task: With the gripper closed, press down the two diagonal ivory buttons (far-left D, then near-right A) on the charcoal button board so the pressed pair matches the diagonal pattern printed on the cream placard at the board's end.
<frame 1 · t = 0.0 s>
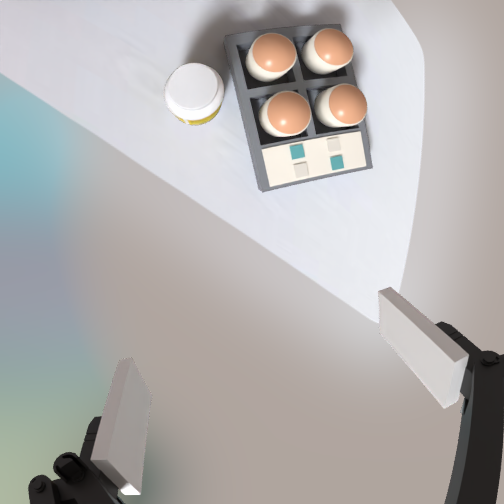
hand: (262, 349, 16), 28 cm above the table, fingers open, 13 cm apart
button D: (340, 106, 34), point 5 cm above the table, slide at 0.0 cm
button A: (270, 57, 31), point 5 cm above the table, slide at 0.0 cm
button B: (326, 51, 32), point 5 cm above the table, slide at 0.0 cm
button C: (284, 114, 34), point 5 cm above the table, slide at 0.0 cm
pill bottle: (196, 102, 37), on the table
board: (297, 103, 38), on the table
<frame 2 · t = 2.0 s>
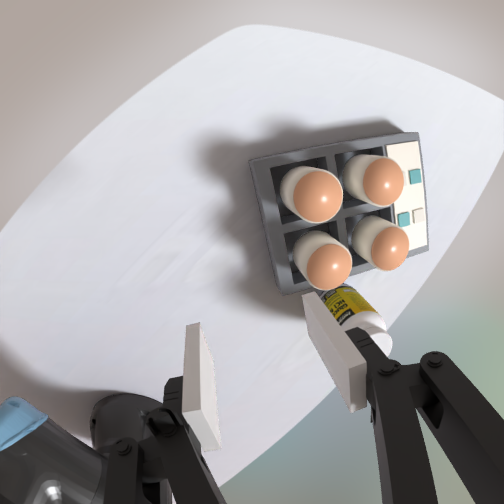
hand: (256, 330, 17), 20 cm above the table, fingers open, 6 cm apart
button D: (373, 179, 31), point 5 cm above the table, slide at 0.0 cm
button A: (321, 259, 33), point 5 cm above the table, slide at 0.0 cm
button B: (310, 193, 31), point 5 cm above the table, slide at 0.0 cm
button C: (380, 242, 33), point 5 cm above the table, slide at 0.0 cm
pill bottle: (335, 303, 41), on the table
board: (345, 205, 37), on the table
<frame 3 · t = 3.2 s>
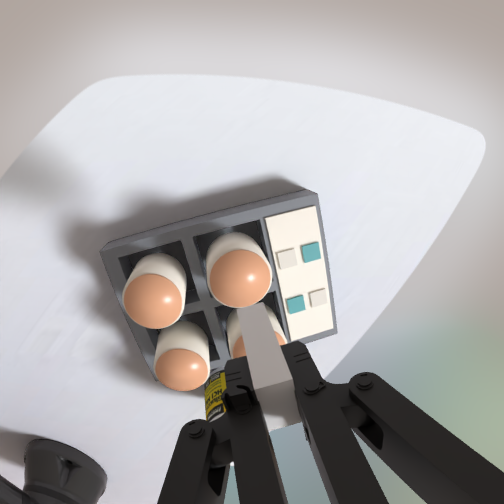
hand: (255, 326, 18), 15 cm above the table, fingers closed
button D: (237, 268, 27), point 5 cm above the table, slide at 0.0 cm
button A: (182, 356, 29), point 5 cm above the table, slide at 0.0 cm
button B: (156, 290, 26), point 5 cm above the table, slide at 0.0 cm
button C: (255, 337, 29), point 5 cm above the table, slide at 0.0 cm
pill bottle: (229, 382, 37), on the table
board: (225, 285, 33), on the table
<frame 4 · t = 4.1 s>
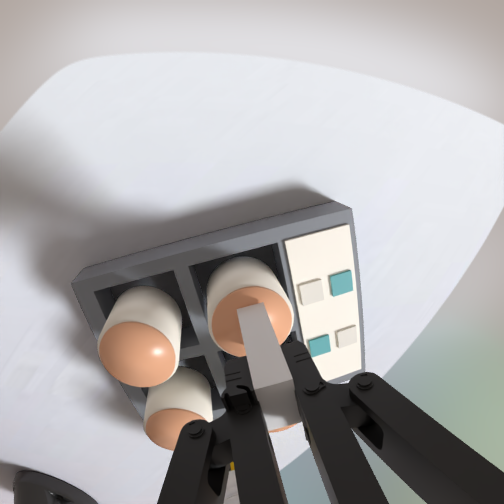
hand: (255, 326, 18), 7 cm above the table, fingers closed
button D: (246, 306, 20), point 5 cm above the table, slide at 0.6 cm, touching gripper
button A: (178, 409, 22), point 5 cm above the table, slide at 0.0 cm
button B: (142, 336, 19), point 5 cm above the table, slide at 0.0 cm
button C: (269, 389, 22), point 5 cm above the table, slide at 0.0 cm
pill bottle: (235, 424, 30), on the table
board: (231, 321, 26), on the table
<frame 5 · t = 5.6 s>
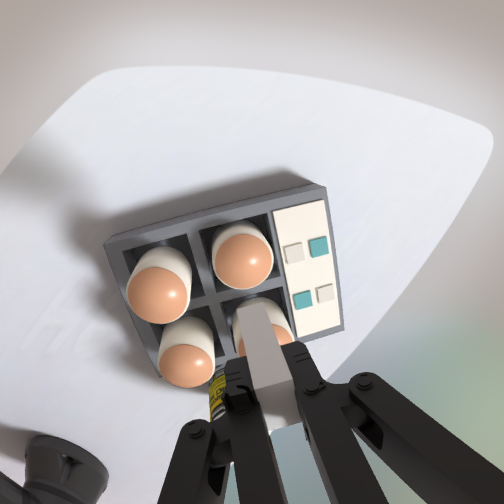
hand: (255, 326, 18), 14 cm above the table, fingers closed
button D: (240, 253, 28), point 3 cm above the table, slide at 2.5 cm
button A: (186, 351, 28), point 5 cm above the table, slide at 0.0 cm
button B: (160, 284, 26), point 5 cm above the table, slide at 0.0 cm
button C: (261, 333, 29), point 5 cm above the table, slide at 0.0 cm
pill bottle: (234, 378, 36), on the table
board: (231, 280, 32), on the table
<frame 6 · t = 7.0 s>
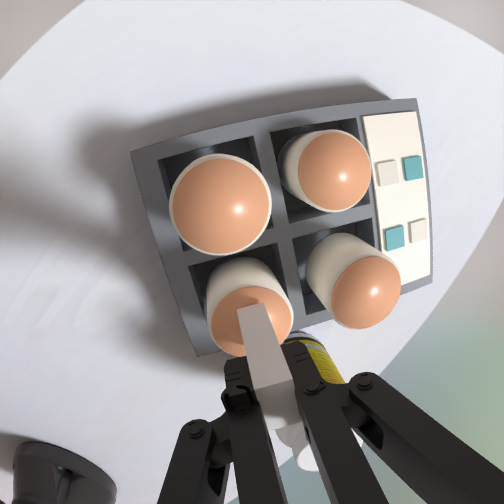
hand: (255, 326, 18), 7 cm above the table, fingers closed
button D: (322, 168, 20), point 3 cm above the table, slide at 2.5 cm
button A: (246, 306, 20), point 5 cm above the table, slide at 0.6 cm, touching gripper
button B: (218, 199, 18), point 5 cm above the table, slide at 0.0 cm
button C: (352, 279, 20), point 5 cm above the table, slide at 0.0 cm
pill bottle: (290, 358, 28), on the table
board: (299, 216, 24), on the table
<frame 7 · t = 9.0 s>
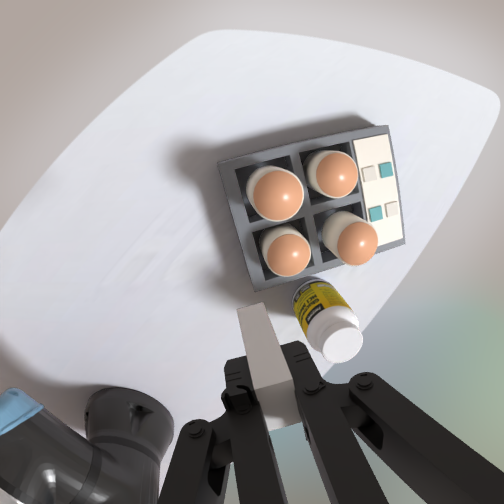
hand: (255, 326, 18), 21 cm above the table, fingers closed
button D: (329, 172, 34), point 3 cm above the table, slide at 2.5 cm
button A: (284, 248, 36), point 3 cm above the table, slide at 2.5 cm
button B: (273, 192, 32), point 5 cm above the table, slide at 0.0 cm
button C: (349, 237, 34), point 5 cm above the table, slide at 0.0 cm
pill bottle: (312, 298, 42), on the table
board: (316, 201, 38), on the table
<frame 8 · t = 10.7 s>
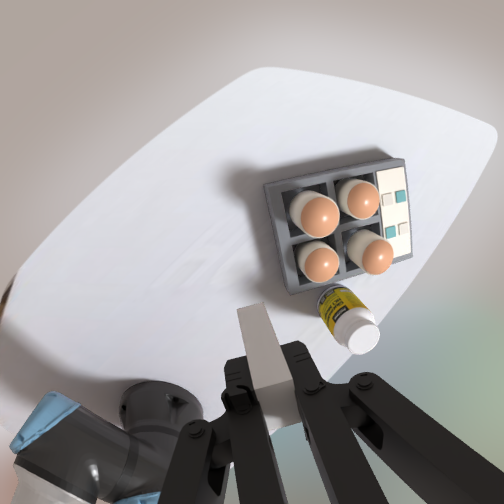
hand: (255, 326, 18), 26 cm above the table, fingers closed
button D: (356, 197, 41), point 3 cm above the table, slide at 2.5 cm
button A: (316, 259, 43), point 3 cm above the table, slide at 2.5 cm
button B: (313, 213, 39), point 5 cm above the table, slide at 0.0 cm
button C: (370, 251, 41), point 5 cm above the table, slide at 0.0 cm
pill bottle: (334, 301, 49), on the table
board: (342, 220, 45), on the table
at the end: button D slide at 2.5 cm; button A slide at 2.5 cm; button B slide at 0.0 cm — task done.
